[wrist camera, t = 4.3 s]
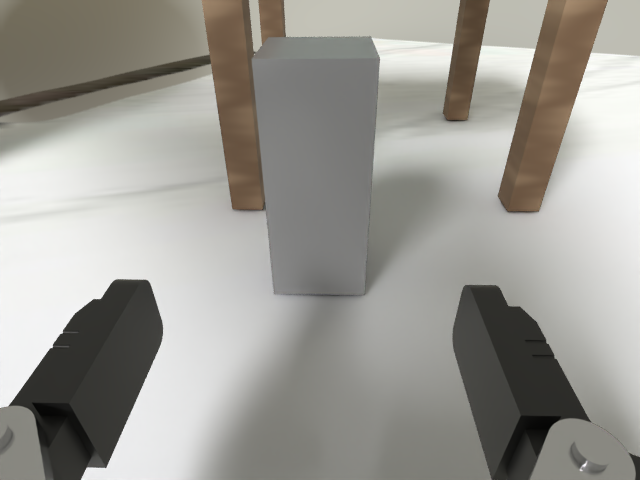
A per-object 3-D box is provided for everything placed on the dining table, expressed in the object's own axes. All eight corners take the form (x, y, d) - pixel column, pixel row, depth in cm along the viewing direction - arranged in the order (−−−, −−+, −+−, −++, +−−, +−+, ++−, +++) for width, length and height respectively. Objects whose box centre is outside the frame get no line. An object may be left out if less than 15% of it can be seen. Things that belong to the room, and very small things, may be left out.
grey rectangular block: (273, 294, 21) (251, 58, 15) (283, 242, 25) (268, 37, 19) (364, 295, 21) (379, 58, 15) (360, 243, 25) (370, 36, 18)
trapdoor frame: (232, 209, 28) (193, -59, 20) (270, 113, 44) (257, -55, 36) (538, 211, 27) (628, -65, 19) (462, 113, 44) (493, -58, 36)
